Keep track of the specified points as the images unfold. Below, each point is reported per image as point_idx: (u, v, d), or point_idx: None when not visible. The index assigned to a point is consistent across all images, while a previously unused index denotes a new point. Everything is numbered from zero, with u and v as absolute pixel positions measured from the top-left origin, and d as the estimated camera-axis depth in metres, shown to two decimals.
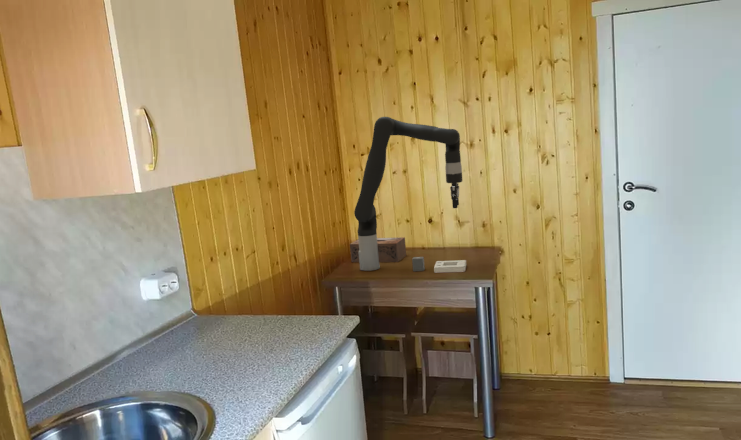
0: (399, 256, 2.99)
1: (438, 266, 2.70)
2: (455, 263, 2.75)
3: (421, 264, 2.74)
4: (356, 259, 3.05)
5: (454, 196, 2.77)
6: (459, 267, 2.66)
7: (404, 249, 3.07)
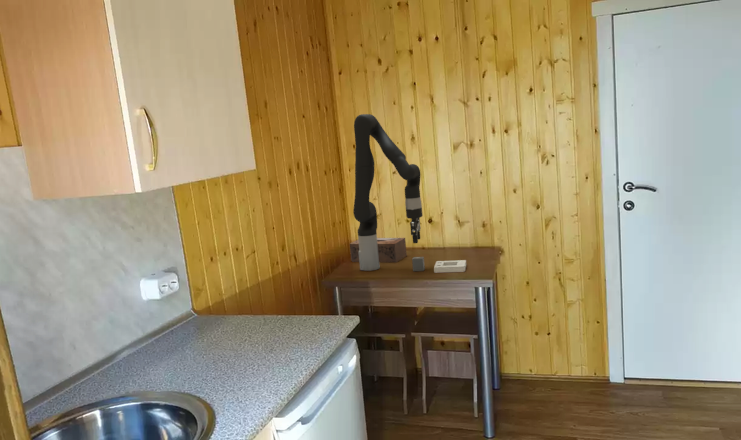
0: (398, 256, 2.98)
1: (438, 266, 2.70)
2: (455, 263, 2.75)
3: (421, 264, 2.74)
4: (356, 258, 3.06)
5: None
6: (459, 267, 2.66)
7: (404, 249, 3.06)
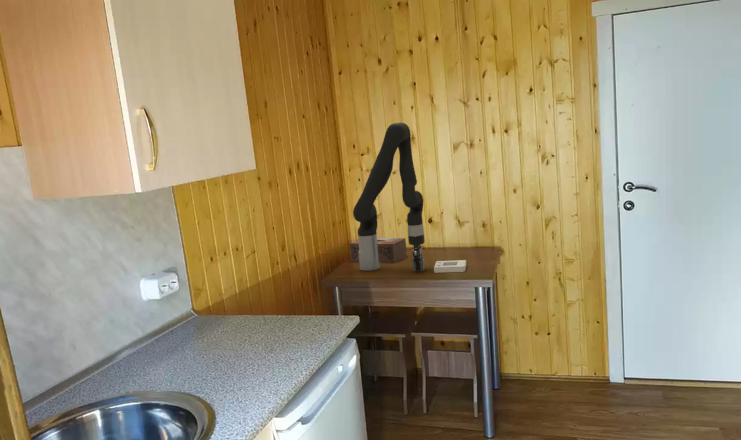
0: (396, 257, 2.98)
1: (438, 266, 2.70)
2: (455, 263, 2.75)
3: (421, 264, 2.74)
4: (356, 258, 3.07)
5: None
6: (459, 267, 2.66)
7: (404, 250, 3.05)
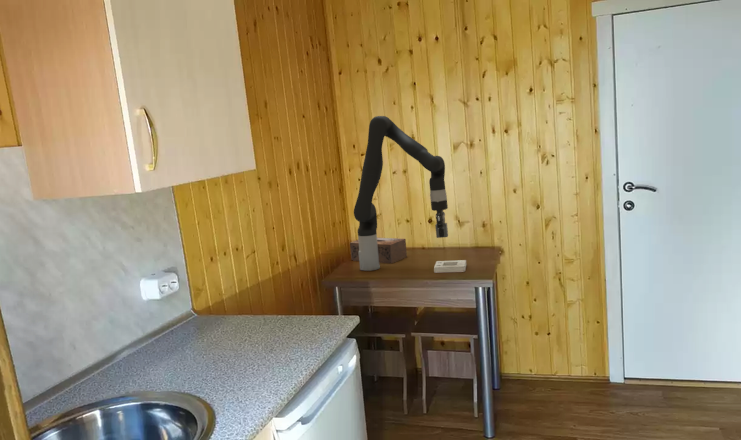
0: (394, 257, 2.97)
1: (438, 266, 2.70)
2: (455, 263, 2.75)
3: (445, 230, 2.68)
4: (356, 257, 3.08)
5: None
6: (459, 267, 2.66)
7: (404, 251, 3.04)
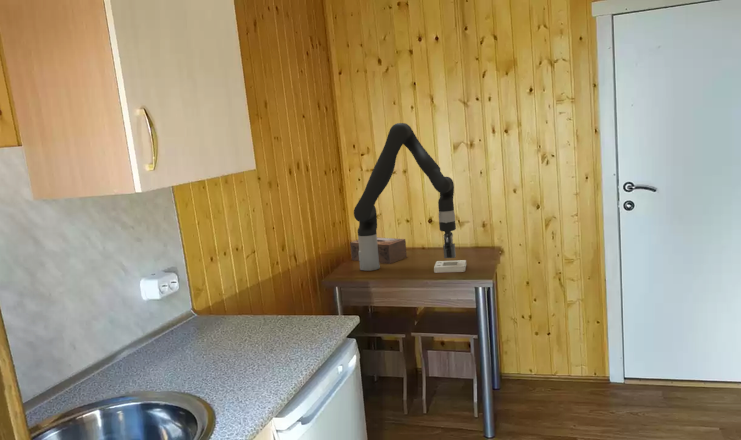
0: (393, 258, 2.96)
1: (438, 266, 2.70)
2: (455, 263, 2.75)
3: (452, 251, 2.69)
4: (356, 257, 3.09)
5: None
6: (459, 267, 2.66)
7: (403, 251, 3.03)
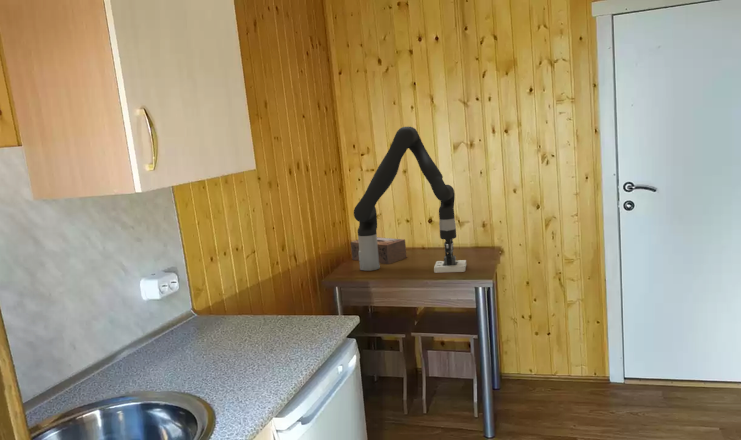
0: (391, 258, 2.96)
1: (438, 266, 2.70)
2: None
3: (453, 263, 2.70)
4: (356, 257, 3.09)
5: (448, 252, 2.75)
6: (459, 267, 2.66)
7: (403, 251, 3.02)
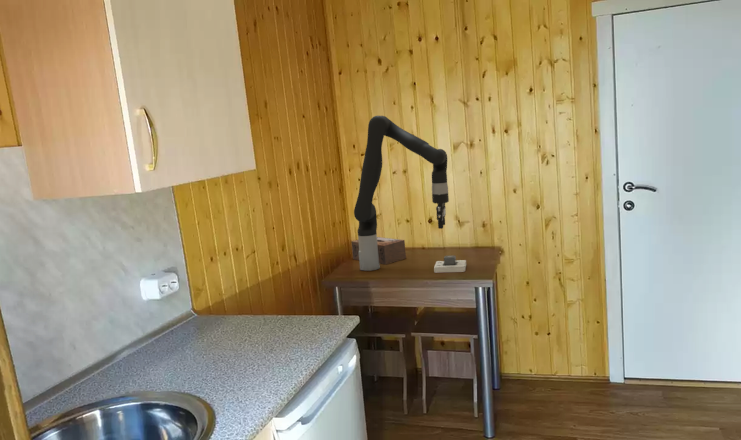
0: (389, 259, 2.95)
1: (438, 266, 2.70)
2: None
3: (453, 263, 2.70)
4: (356, 256, 3.10)
5: (440, 216, 2.76)
6: (459, 267, 2.66)
7: (402, 252, 3.01)
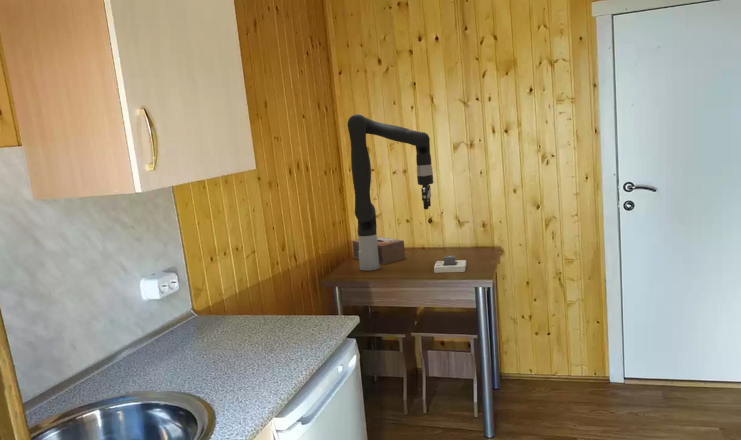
0: (387, 259, 2.95)
1: (438, 266, 2.70)
2: None
3: (453, 263, 2.70)
4: (357, 256, 3.11)
5: (426, 197, 2.84)
6: (459, 267, 2.66)
7: (401, 252, 3.00)
